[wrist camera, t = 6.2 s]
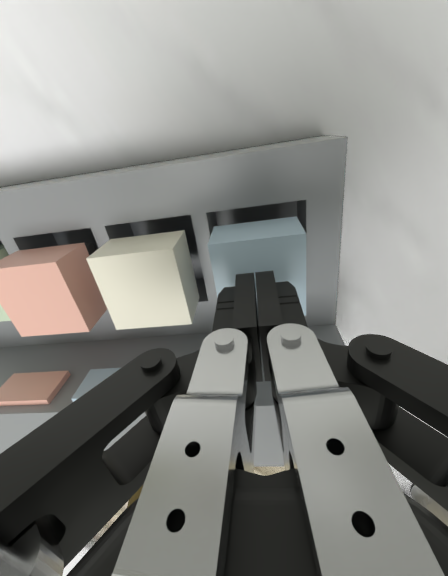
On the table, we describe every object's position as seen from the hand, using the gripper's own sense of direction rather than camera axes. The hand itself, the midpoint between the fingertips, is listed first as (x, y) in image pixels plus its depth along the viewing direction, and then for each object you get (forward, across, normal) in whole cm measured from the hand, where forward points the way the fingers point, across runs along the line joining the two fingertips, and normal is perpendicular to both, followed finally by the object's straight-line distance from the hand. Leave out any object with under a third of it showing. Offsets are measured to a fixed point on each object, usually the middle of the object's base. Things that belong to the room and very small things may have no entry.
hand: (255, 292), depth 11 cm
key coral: (+5, +11, 0) cm, 12 cm away
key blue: (+5, 0, 0) cm, 5 cm away
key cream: (+5, +5, 0) cm, 7 cm away
